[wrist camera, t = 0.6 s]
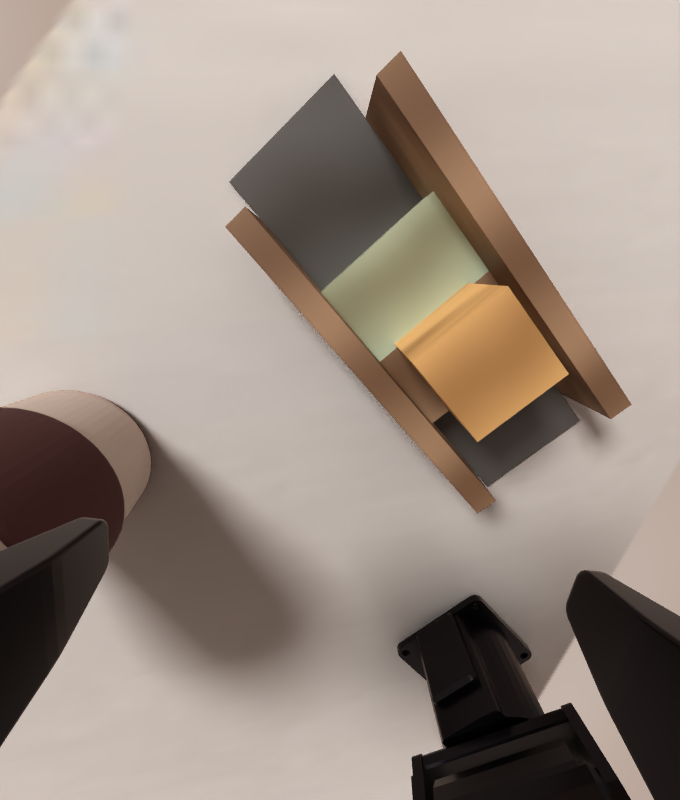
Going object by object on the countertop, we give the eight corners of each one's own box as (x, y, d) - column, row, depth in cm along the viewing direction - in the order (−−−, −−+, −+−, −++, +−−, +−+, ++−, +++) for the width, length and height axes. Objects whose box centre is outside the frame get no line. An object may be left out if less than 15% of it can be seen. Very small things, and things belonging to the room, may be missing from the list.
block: (517, 352, 18) (568, 373, 14) (446, 407, 19) (477, 442, 15) (467, 283, 17) (508, 286, 13) (394, 344, 18) (413, 364, 14)
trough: (593, 407, 21) (652, 436, 17) (471, 494, 22) (501, 540, 19) (352, 57, 16) (361, -11, 12) (214, 199, 17) (183, 178, 14)
